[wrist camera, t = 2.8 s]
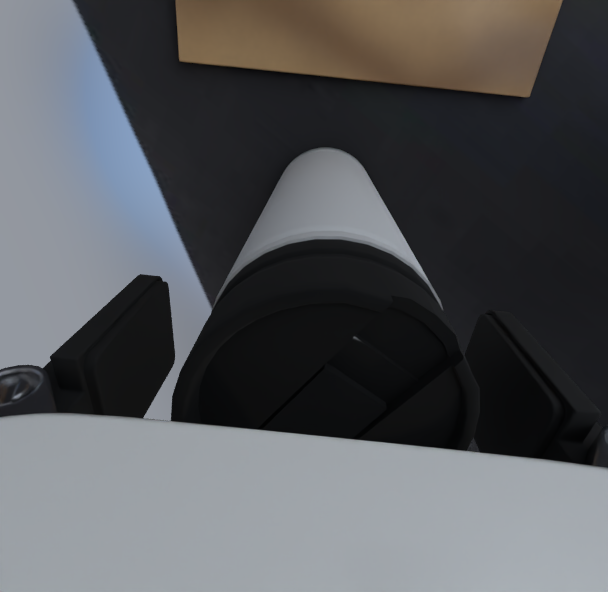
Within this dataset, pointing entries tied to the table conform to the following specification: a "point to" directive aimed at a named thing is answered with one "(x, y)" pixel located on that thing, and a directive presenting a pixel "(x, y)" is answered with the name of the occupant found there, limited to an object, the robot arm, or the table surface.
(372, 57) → the wooden board
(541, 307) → the table surface
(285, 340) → the travel mug
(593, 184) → the table surface
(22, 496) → the robot arm
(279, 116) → the table surface
